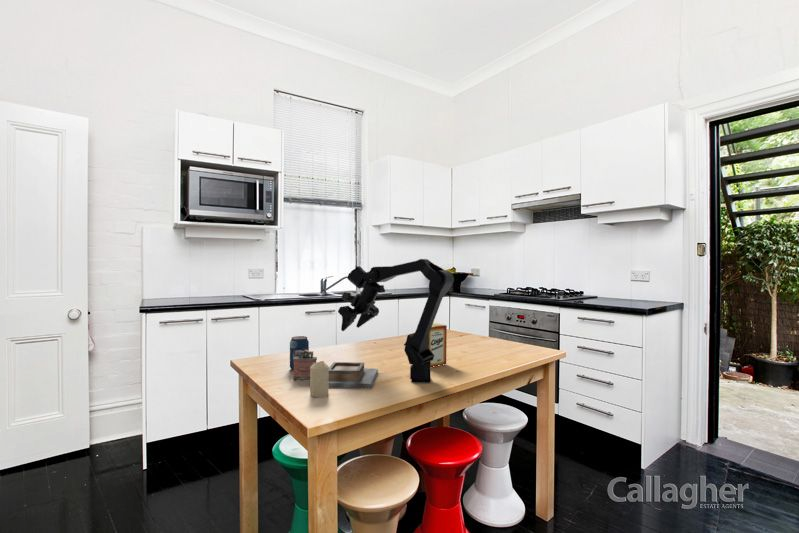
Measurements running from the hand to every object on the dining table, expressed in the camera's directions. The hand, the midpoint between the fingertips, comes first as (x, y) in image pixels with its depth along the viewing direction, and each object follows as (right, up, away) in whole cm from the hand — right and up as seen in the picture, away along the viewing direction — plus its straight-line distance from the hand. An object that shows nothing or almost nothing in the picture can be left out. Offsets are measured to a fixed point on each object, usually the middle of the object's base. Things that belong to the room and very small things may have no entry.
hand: (349, 328), depth 152 cm
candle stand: (+1, -15, -15) cm, 22 cm away
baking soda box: (+32, -15, +5) cm, 36 cm away
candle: (-5, -16, -31) cm, 35 cm away
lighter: (-14, -15, -15) cm, 26 cm away
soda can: (-19, -15, -3) cm, 24 cm away
